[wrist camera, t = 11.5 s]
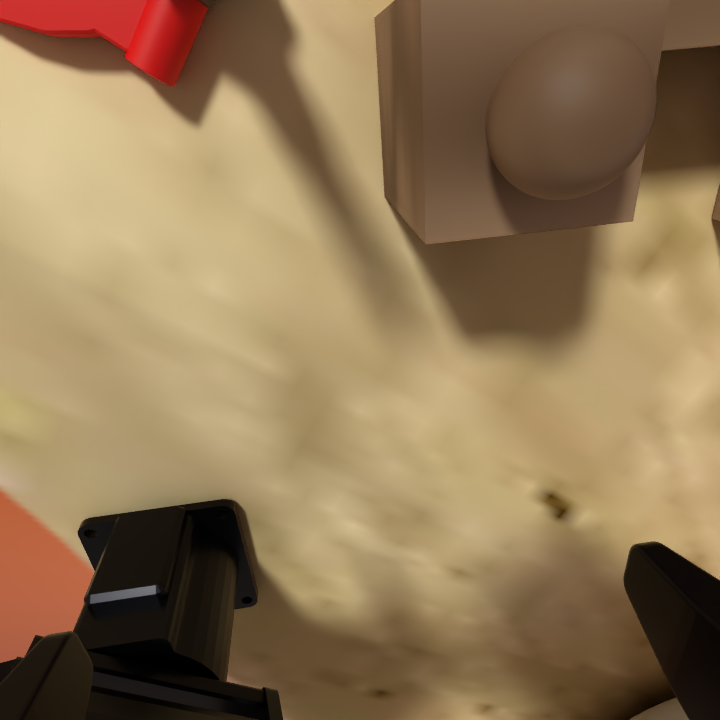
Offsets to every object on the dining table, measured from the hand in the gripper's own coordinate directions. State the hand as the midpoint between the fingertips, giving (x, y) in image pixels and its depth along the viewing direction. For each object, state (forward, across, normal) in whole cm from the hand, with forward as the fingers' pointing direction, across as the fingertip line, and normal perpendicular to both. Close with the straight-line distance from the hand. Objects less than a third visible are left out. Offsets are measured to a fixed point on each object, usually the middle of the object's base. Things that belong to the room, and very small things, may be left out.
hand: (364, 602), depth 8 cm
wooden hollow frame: (+12, -12, -6) cm, 18 cm away
